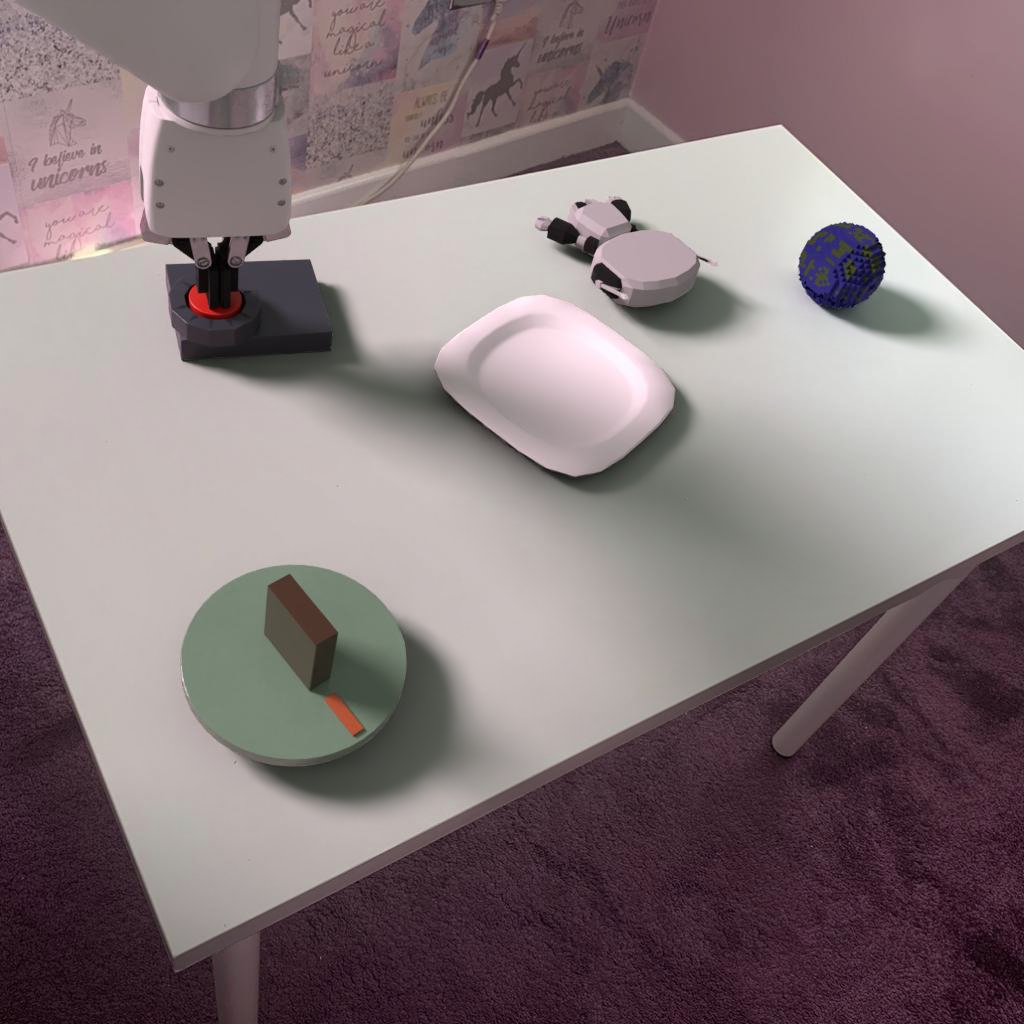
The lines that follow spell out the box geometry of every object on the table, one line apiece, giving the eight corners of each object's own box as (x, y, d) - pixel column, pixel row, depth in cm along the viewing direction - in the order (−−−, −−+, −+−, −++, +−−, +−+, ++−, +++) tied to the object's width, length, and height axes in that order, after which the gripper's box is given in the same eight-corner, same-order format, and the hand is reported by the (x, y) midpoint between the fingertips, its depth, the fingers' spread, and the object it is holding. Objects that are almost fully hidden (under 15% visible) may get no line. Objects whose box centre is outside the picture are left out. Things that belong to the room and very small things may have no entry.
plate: (692, 402, 94) (699, 389, 93) (573, 508, 83) (579, 495, 82) (537, 291, 99) (541, 276, 97) (406, 377, 88) (409, 363, 87)
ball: (772, 281, 108) (804, 220, 102) (815, 259, 112) (849, 200, 106) (831, 329, 105) (867, 270, 99) (873, 306, 109) (911, 247, 103)
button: (193, 332, 82) (192, 316, 81) (185, 297, 85) (185, 280, 83) (245, 329, 84) (245, 313, 83) (236, 295, 86) (237, 278, 85)
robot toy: (520, 245, 104) (619, 335, 97) (528, 205, 100) (632, 295, 94) (611, 217, 110) (710, 299, 103) (622, 178, 107) (725, 261, 100)
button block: (177, 370, 83) (175, 332, 80) (160, 284, 88) (158, 246, 85) (333, 359, 88) (338, 323, 84) (308, 278, 93) (312, 242, 90)
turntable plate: (137, 638, 66) (131, 579, 61) (321, 540, 74) (330, 481, 69) (264, 812, 61) (269, 763, 56) (448, 688, 69) (467, 636, 64)
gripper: (319, 54, 74) (301, 261, 88) (89, 46, 68) (110, 268, 82) (343, 118, 70) (321, 324, 84) (101, 115, 64) (121, 336, 78)
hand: (216, 296), depth 83 cm, fingers closed
